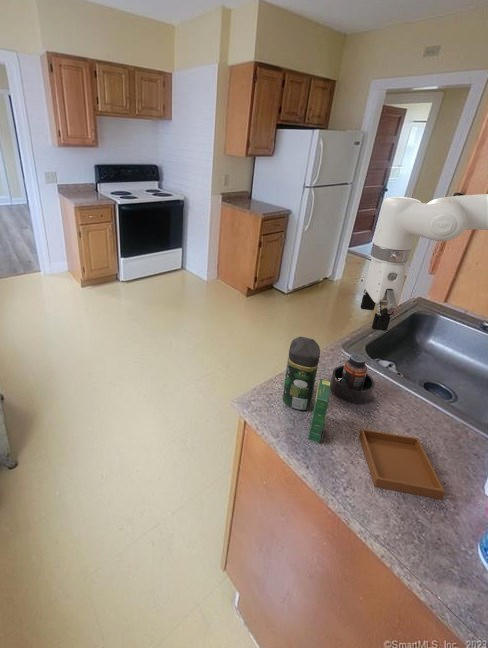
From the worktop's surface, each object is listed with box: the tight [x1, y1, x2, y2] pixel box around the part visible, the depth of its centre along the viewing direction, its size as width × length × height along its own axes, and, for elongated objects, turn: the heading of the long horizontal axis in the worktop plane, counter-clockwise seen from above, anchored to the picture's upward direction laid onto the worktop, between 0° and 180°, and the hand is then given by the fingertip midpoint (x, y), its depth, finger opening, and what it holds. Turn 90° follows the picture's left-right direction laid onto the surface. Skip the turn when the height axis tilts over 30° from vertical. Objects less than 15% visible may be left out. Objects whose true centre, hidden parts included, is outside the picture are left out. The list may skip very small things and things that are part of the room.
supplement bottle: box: [341, 353, 368, 391], centre depth 93 cm, size 6×6×11 cm
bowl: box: [330, 365, 375, 406], centre depth 94 cm, size 11×11×4 cm
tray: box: [358, 428, 446, 501], centre depth 73 cm, size 13×13×2 cm
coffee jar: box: [282, 336, 321, 411], centre depth 88 cm, size 10×8×19 cm
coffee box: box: [307, 378, 331, 444], centre depth 79 cm, size 8×3×13 cm, turn 155°
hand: (372, 318), depth 79 cm, fingers open, 9 cm apart
